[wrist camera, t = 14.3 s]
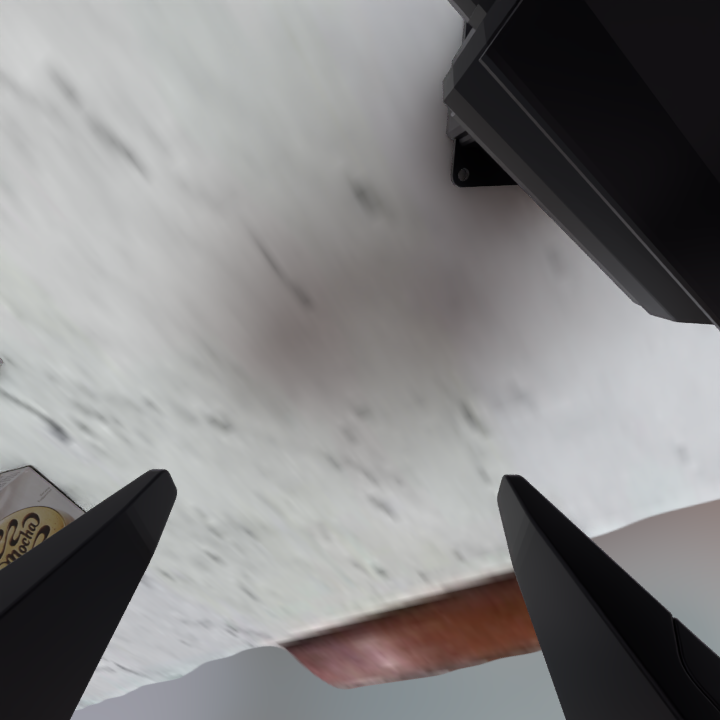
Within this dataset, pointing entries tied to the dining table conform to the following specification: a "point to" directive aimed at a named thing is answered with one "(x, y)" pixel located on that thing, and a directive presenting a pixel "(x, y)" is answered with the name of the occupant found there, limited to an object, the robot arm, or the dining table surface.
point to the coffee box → (30, 512)
